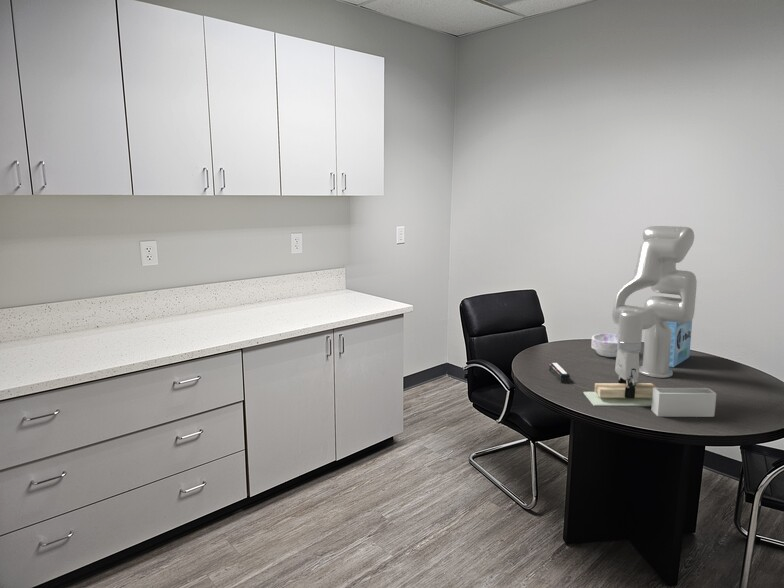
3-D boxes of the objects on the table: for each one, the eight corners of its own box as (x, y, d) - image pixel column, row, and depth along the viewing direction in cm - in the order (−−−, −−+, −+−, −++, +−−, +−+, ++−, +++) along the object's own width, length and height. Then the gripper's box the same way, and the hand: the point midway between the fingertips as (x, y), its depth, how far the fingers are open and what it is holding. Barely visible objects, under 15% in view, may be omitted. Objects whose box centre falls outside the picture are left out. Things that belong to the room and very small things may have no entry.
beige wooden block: (594, 391, 192) (594, 383, 191) (651, 391, 190) (651, 383, 190) (600, 397, 186) (600, 389, 185) (658, 397, 185) (659, 389, 184)
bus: (551, 387, 203) (551, 377, 202) (533, 366, 227) (533, 357, 227) (588, 386, 203) (589, 376, 202) (567, 365, 228) (567, 356, 227)
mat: (583, 393, 195) (583, 391, 195) (655, 393, 194) (655, 391, 193) (593, 405, 183) (593, 404, 183) (670, 406, 182) (670, 404, 182)
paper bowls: (591, 358, 235) (592, 341, 233) (590, 348, 249) (591, 332, 248) (628, 360, 230) (630, 343, 229) (625, 350, 244) (626, 334, 243)
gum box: (673, 367, 220) (678, 314, 216) (660, 365, 224) (664, 312, 219) (689, 357, 233) (694, 306, 229) (677, 354, 237) (681, 305, 232)
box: (651, 410, 179) (653, 387, 177) (706, 410, 178) (708, 387, 176) (657, 416, 174) (659, 393, 172) (714, 416, 173) (716, 393, 171)
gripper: (609, 339, 193) (606, 385, 197) (627, 353, 176) (624, 404, 180) (630, 338, 193) (627, 385, 196) (650, 353, 176) (646, 404, 179)
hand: (626, 393), depth 188 cm, fingers closed on beige wooden block, 6 cm apart
